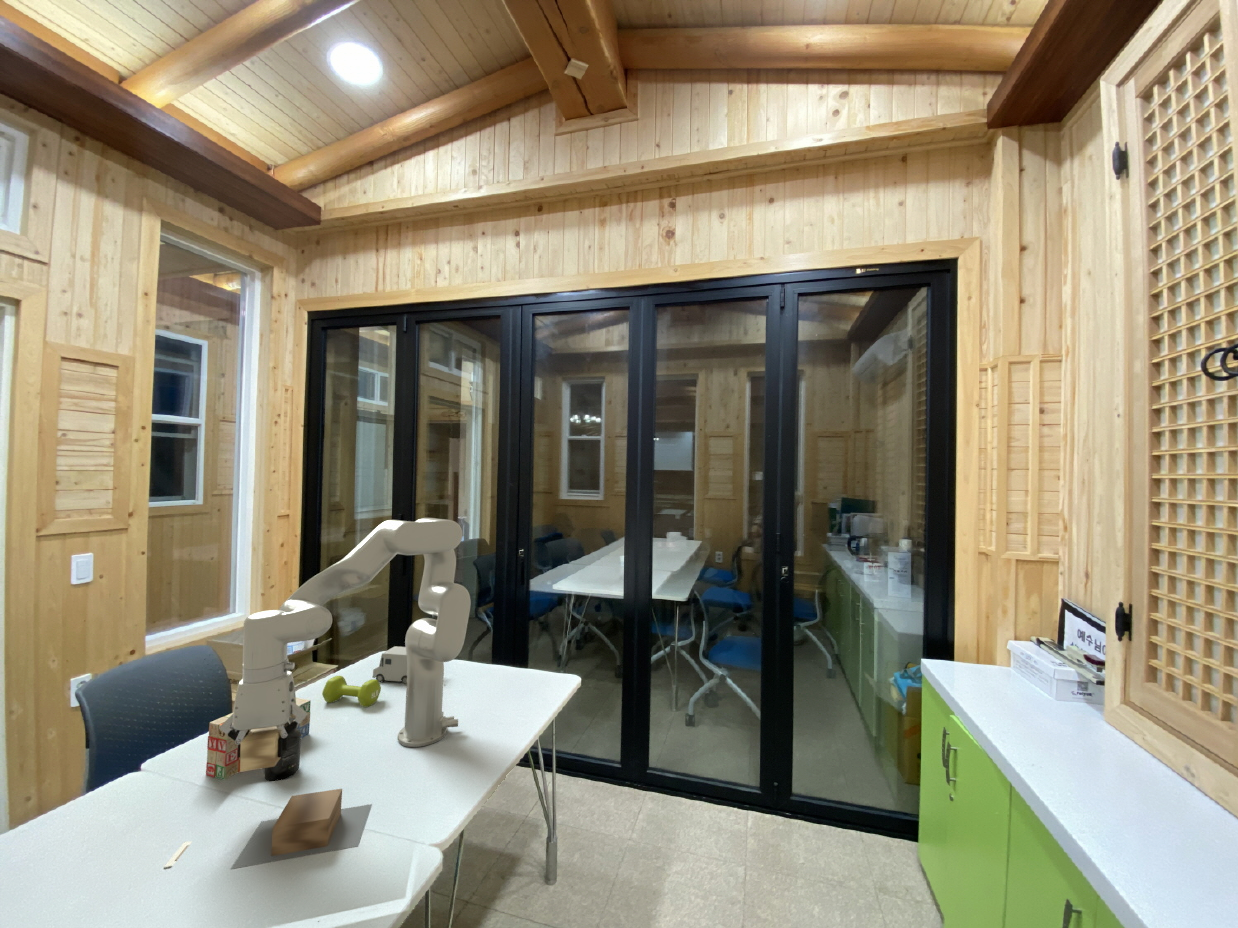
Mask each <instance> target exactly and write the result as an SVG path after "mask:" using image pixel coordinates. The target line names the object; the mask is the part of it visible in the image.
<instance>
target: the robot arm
mask: <svg viewBox="0 0 1238 928" xmlns="http://www.w3.org/2000/svg"><path fill="white" fill-rule="evenodd" d="M462 529H463V528H461V526H460V524H459V523H458V522H457V521H454V520H451V519H444V518H435V517H421V518H419V519H417V520H415V521H411V520H408V521H407V520H399V519H388V520H385V521H383V522H381V523H380V524H378V526H376V527H375V528H374V529H373V530H371V532H370V533H369V534H368V535H367V536H365V537H364V538H363V539H362V540H361V542H359V543H358V544H357V545H356V546H355V547H354V548H353V549H351V551H350V552H348V554H347V555H345V556H344V557H343V558H342V559H340V560H339V561H337V562H336V563H334V564H332V565H330V566H329V567H327V568H325V569H324V570H323V571H321V572H319V573H317V574H316V575H314V576H312V577H311V578H309V579H308V580H307V581H305V582H304V583H303V584H302V585H301V586H300V587H299V588H297V589H296V590H295V591H294V592H293V593H292V594H291V595H290V596H289V597H288V598H287V599H286V600H285V601H284V602H283V603H282V604H281V605H280V607H279V609H270V610H269V609H268V610H262V611H257V612H254V613H252V614H250V615H248V616H247V617H246V618H244V622H243V629H242V630H243V631H242V632H243V633H242V635H243V639H242V641H243V642H242V679H240V680H239V682H238V685H237V690H236V693H235V699H234V705H233V712H232V713H233V714H232V715H231V716H230V717H229V718H228V719H227V720H226V721H225V722H224V723H223V724H222V725H221V726H220V727H219V729H220V730H221V731H223V732H224V733H226V734H228V736H229V737H230V738H232V739H233V740H234V741H235V744H237V745H238V758H239V757H240V746H241V741H242V740H243V739H244V738H245V737H246V735H247V734H248V733H249V732H250V730H252V729H259V728H266V727H273V726H276V727H277V729H278V731H279V734H280V738H279V739H278V758H280V757H282V756H283V755H284V753H285V752H286V750H288V749H289V745H290V732H291V731H292V730H293V729H294V728H295V727H296V726H297V725H298V724H299V723H300V722H301V721H302V720H303V719H304V718H305V717H306V716H307V712H306V711H304V710H303V709H302V708H300V707H299V706H298V705H297V704H296V698H297V697H296V688H295V687H296V686H295V681H294V676H293V673H292V671H291V670H294V669H295V667H296V666H295V665H296V664H295V663H296V662H290V661H289V658H288V644H289V643H298V642H305V641H306V642H307V641H312V640H316V639H318V638H320V637H322V636H324V635H325V634H326V633H327V632H328V631H329V630H330V628H331V627H332V624H333V616H332V613H331V612H330V610H329V609H327V607H324V606H325V604H327V602H329V600H332V599H333V598H334V597H335V596H337V595H338V594H341V593H344V592H345V591H348V590H351V589H354V588H357V587H361V586H364V585H366V584H368V583H370V582H372V580H374V578H375V577H376V576H377V575H378V574H379V572H381V571H382V570H383V569H384V567H386V566H387V565H388V564H389V562H390V561H392V560H393V559H394V558H395V557H396V555H403V556H417V555H423V558H424V567H423V573H422V574H423V575H422V578H421V583H420V590H419V593H418V600H417V601H418V602H417V603H418V607H419V609H420V610H421V611H423V612H424V613H426V614H428V615H433V616H436V617H437V619H434V618H429V617H423V618H420V619H417V620H415V621H414V622H412V623H411V624H410V625H409V627H408V629H407V631H406V634H405V638H404V639H405V641H404V643H405V644H404V645H405V646H404V647H406V653H407V681H406V682H407V684H406V690H405V692H406V693H405V713H404V726H403V727H402V728H401V729H400V730H399V731H398V733H397V741H398V743H399V744H400V745H402V746H405V747H410V748H418V747H419V748H420V747H425V746H429V745H432V744H435V743H437V742H439V741H440V740H442V739H443V738H444V737H445V736H446V734H447V733H448V728H457V727H459V718H455V715H454V716H453V715H451V716H444V715H445V714H444V711H443V697H444V676H445V664H444V663H448V662H451V661H452V660H454V659H455V658H457V657H458V655H459V654H460V653H461V651H462V649H463V647H464V643H465V639H466V635H467V634H466V633H467V629H468V623H469V618H470V611H471V605H472V604H471V602H472V601H471V595H470V593H469V591H468V589H467V588H466V587H465V586H464V585H462V584H460V583H455V576H456V566H457V557H456V551H455V549H456V548H457V547H459V545H460V544H461V542H462V539H463V530H462ZM291 715H295V716H296V719H295V720H294V721H292V722H291V723H290V722H289V716H291ZM232 723H233V725H232Z"/></svg>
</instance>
